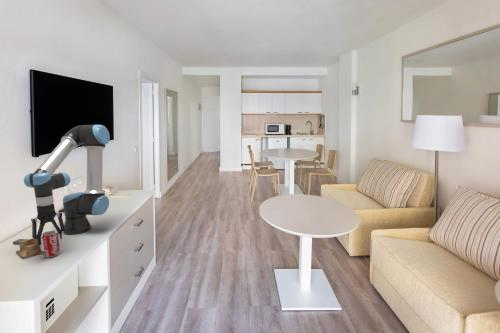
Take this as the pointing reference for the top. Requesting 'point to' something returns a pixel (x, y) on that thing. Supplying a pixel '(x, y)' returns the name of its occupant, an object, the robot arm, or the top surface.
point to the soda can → (50, 244)
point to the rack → (29, 248)
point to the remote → (18, 241)
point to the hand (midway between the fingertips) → (51, 247)
